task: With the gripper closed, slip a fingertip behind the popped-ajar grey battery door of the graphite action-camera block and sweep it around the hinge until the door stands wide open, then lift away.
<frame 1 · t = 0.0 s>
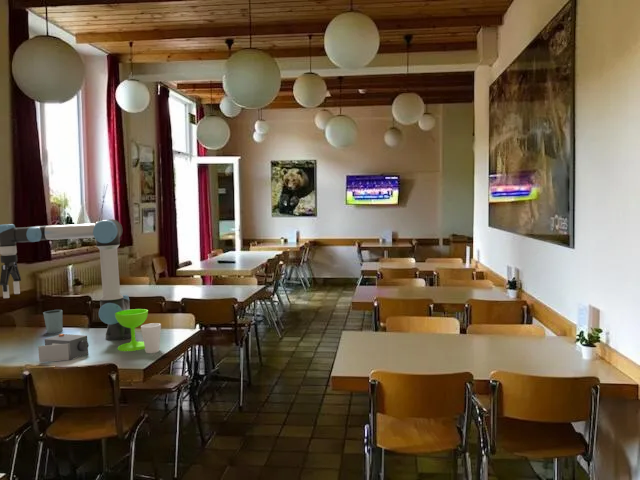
hand: (11, 295, 298), 28 cm above the table, fingers open, 13 cm apart
side door: (54, 352, 273), point 4 cm above the table, hinge at 35.0°
wineglass: (133, 347, 295), on the table
foam cup: (152, 351, 284), on the table
camera body: (67, 355, 283), on the table
drinking glass: (54, 332, 341), on the table
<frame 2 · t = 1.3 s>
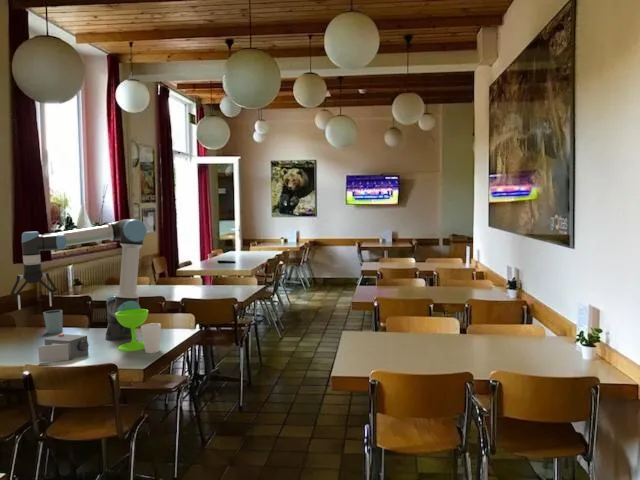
hand: (35, 307, 282), 24 cm above the table, fingers open, 13 cm apart
nothing on the table moved.
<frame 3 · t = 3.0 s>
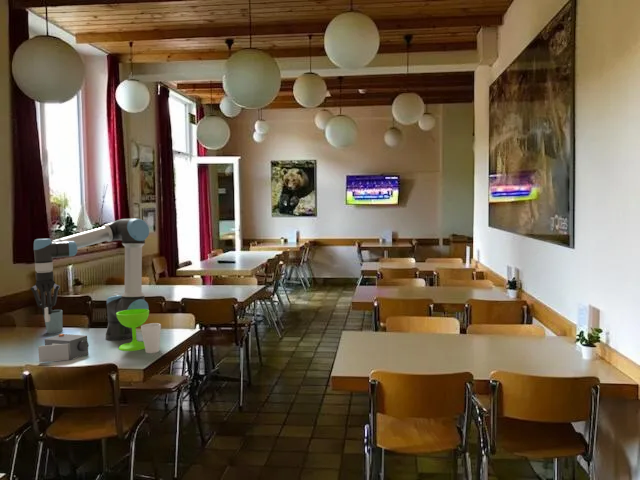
hand: (47, 321, 275), 19 cm above the table, fingers closed
nothing on the table moved.
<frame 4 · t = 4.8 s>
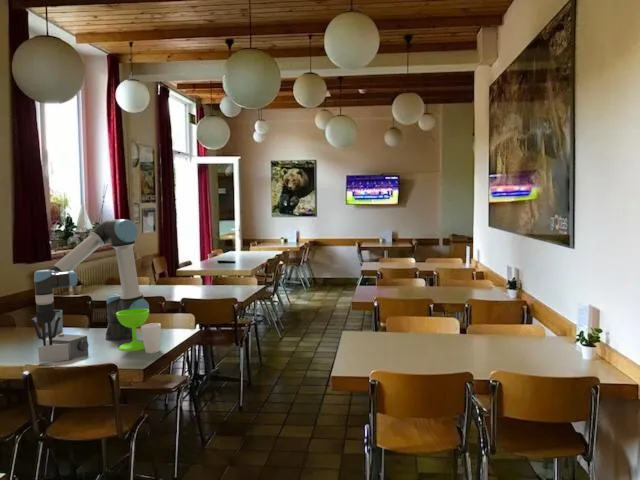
hand: (48, 352, 274), 4 cm above the table, fingers closed
side door: (54, 352, 273), point 4 cm above the table, hinge at 36.3°, touching gripper
everything else where it was.
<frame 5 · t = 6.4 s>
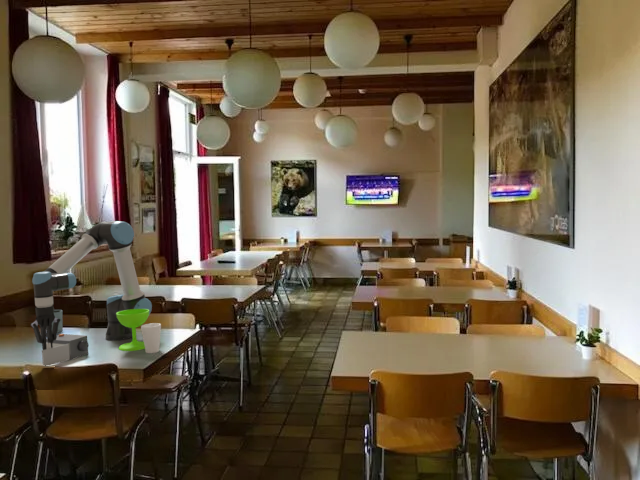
hand: (48, 356, 267), 4 cm above the table, fingers closed
side door: (56, 354, 269), point 4 cm above the table, hinge at 80.3°, touching gripper
everything else where it was.
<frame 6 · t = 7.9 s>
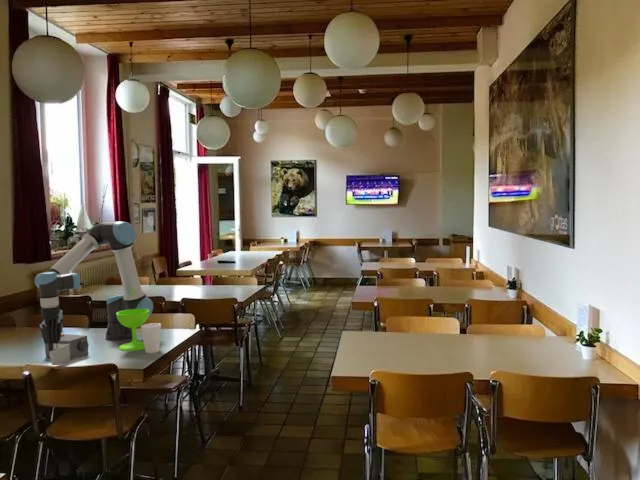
hand: (53, 357, 265), 4 cm above the table, fingers closed
side door: (61, 355, 268), point 4 cm above the table, hinge at 103.9°
everything else where it was.
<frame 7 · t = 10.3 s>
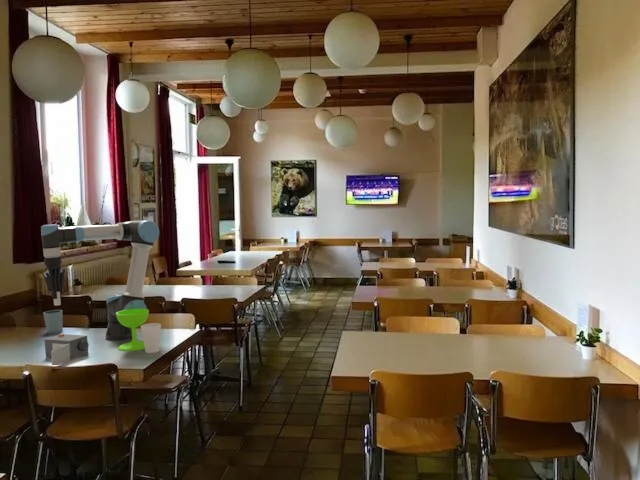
hand: (57, 305, 282), 25 cm above the table, fingers closed
wineglass: (134, 347, 295), on the table, touching arm
everything else where it was.
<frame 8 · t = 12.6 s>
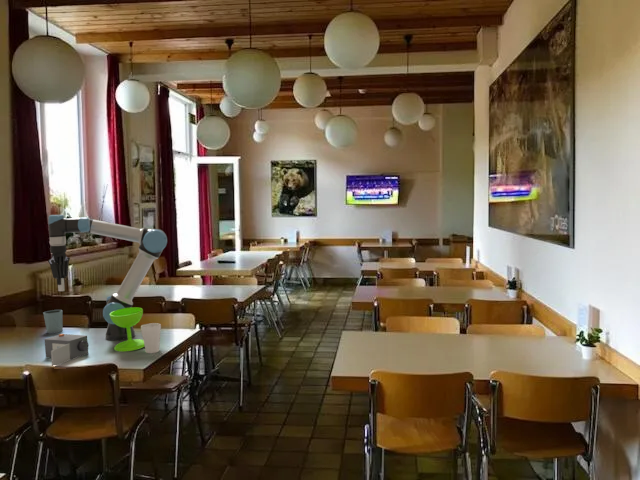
hand: (61, 290, 298), 29 cm above the table, fingers closed
wineglass: (130, 346, 294), point 1 cm above the table, touching arm
everything else where it was.
at the end: side door at +104° (first picture: +35°) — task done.
